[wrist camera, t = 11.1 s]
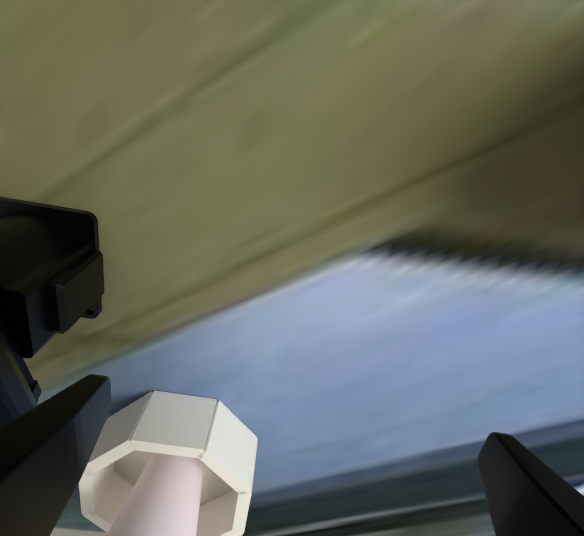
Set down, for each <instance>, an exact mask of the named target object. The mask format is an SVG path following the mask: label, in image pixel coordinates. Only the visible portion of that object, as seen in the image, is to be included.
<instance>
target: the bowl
mask: <svg viewBox="0 0 584 536" xmlns="http://www.w3.org/2000/svg"><path fill="white" fill-rule="evenodd" d="M257 442H258V439H257V437H256V436H255V435H254V434H253V433H252V432H251V431H250V430H249V429H248V428H247V427H246V426H245V425H244V424H243V423H242V422H241V421H240V420H239V419H238V418H237V417H236V416H235V415H234V414H233V413H232V412H231V411H230V410H229V409H228V408H227V407H226V406H225V405H224V404H223V403H222V402H221V401H220V400H219V401H217V399H212V398H205V397H198V396H191V395H183V394H176V393H169V392H162V391H155V390H154V392H153V391H151V392H149V393H148V394H146V395H144V396H143V397H141V398H139V399H138V400H136V401H134V402H133V403H131V404H129V405H128V406H126V407H125V408H123V409H121V410H120V411H118V412H116V413H115V414H113V415H111V416H110V417H108V419H107V421H106V422H105V424H104V426H103V429H102V431H101V433H100V436H99V438H98V440H97V443H96V445H95V447H94V450H93V452H92V454H91V457H90V459H89V461H88V464H87V466H86V468H85V471H84V473H83V475H82V477H81V480H80V482H79V491H80V502H81V512H82V514H83V516H84V517H86V518H87V519H88V520H90V521H91V522H93V523H94V524H96V525H97V526H98V527H100V528H101V529H103V530H104V531H106V532H107V533H108V532H109V530H110V528H111V526H112V525H113V523H114V521H115V519H116V517H117V516H118V514H119V512H120V510H121V509H122V507H123V505H124V503H125V501H126V500H127V498H128V496H129V494H130V493H131V491H132V489H133V487H134V485H135V484H136V482H137V480H138V478H139V477H140V475H141V473H142V471H143V469H144V468H145V466H146V464H147V462H148V461H149V459H150V457H151V455H152V453H160V454H168V455H175V456H183V457H191V458H198V459H200V460H201V461H202V462H203V463H204V471H203V480H202V489H201V497H200V506H199V515H198V524H197V533H196V536H241V535H243V534H244V530H245V525H246V519H247V514H248V509H249V504H250V498H251V493H252V485H253V476H254V468H255V459H256V451H257Z"/></svg>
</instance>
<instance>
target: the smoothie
mask: <svg viewBox="0 0 584 536" xmlns="http://www.w3.org/2000/svg"><path fill="white" fill-rule="evenodd" d="M203 471H204V463H203V462H202V461H201V460H200V459H198V458H191V457H183V456H175V455H168V454H160V453H152V455H151V457H150V459H149V461H148V462H147V464H146V466H145V468H144V469H143V471H142V473H141V475H140V477H139V478H138V480H137V482H136V484H135V485H134V487H133V489H132V491H131V493H130V494H129V496H128V498H127V500H126V501H125V503H124V505H123V507H122V509H121V510H120V512H119V514H118V516H117V517H116V519H115V521H114V523H113V525H112V526H111V528H110V530H109V532H108V533H107V535H106V536H196V533H197V524H198V515H199V506H200V497H201V489H202V480H203Z"/></svg>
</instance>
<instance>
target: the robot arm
mask: <svg viewBox="0 0 584 536" xmlns="http://www.w3.org/2000/svg"><path fill="white" fill-rule="evenodd" d="M84 218H86V219H87V220H88V221H89V223H90V224H89V225H88V224H86V223H85V222H84V220H83V219H84ZM103 293H104V274H103V255H102V253H101V252H100V251H99V236H98V220H97V218H96V216H95V215H94V214H93V213H91V212H88V211H83V210H77V209H71V208H65V207H58V206H52V205H46V204H40V203H34V202H28V201H22V200H16V199H10V198H4V197H0V536H50V534H51V533H52V530H53V529H54V527H55V525H56V524H57V522H58V520H59V518H60V516H61V515H62V513H63V511H64V509H65V507H66V506H67V504H68V502H69V500H70V498H71V497H72V495H73V493H74V491H75V489H76V487H77V485H78V483H79V482H80V480H81V477H82V475H83V473H84V471H85V468H86V466H87V464H88V461H89V459H90V457H91V454H92V452H93V450H94V447H95V445H96V443H97V440H98V438H99V436H100V433H101V431H102V429H103V426H104V424H105V422H106V420H107V417H108V415H109V412H110V408H111V383H110V379H109V377H107V376H102V375H95V374H90V375H88V376H86V377H84V378H83V379H81V380H79V381H78V382H76V383H74V384H73V385H71V386H69V387H68V388H66V389H64V390H63V391H61V392H59V393H58V394H56V395H54V396H53V397H51V398H49V399H48V400H46V401H44V402H43V403H41V404H39V405H38V403H37V402H38V399H39V396H40V394H41V388H40V386H39V384H38V382H37V381H36V380H33V378H32V376H31V374H30V372H29V370H28V368H27V366H26V364H25V362H24V360H23V358H31V357H33V356H34V355H35V354H36V353H37V352H38V351H39V350H40V349H41V348H42V347H43V346H44V345H45V344H46V343H47V342H48V341H49V340H50V339H51V338H52V337H53V336H54V335H55V334H56V333H60V334H63V333H65V332H66V331H67V330H69V329H70V328H71V327H72V326H73V325H74V323H75V322H76V321H77V320H78V319H79V318H80V317H83V318H90V319H94V318H96V317H97V316H98V315H99V314H100V313H101V311H102V302H101V295H102V294H103ZM89 308H92V309H93V310H94V312H93V311H91V310H90V309H89ZM477 463H478V469H479V473H480V476H481V480H482V484H483V488H484V492H485V496H486V500H487V504H488V508H489V512H490V516H491V520H492V523H493V527H494V530H495V534H496V536H584V496H583V495H582V494H580V493H579V492H578V491H577V490H576V489H575V488H573V487H572V486H571V485H570V484H569V483H567V482H566V481H565V480H564V479H563V478H561V477H560V476H559V475H558V474H557V473H555V472H554V471H553V470H552V469H551V468H550V467H548V466H547V465H546V464H545V463H544V462H542V461H541V460H540V459H539V458H538V457H536V456H535V455H534V454H533V453H532V452H531V451H529V450H528V449H527V448H526V447H525V446H523V445H522V444H521V443H520V442H519V441H517V440H516V439H515V438H514V437H513V436H511V435H509V434H506V433H499V432H492V433H490V434H489V436H488V437H487V439H486V441H485V443H484V445H483V447H482V448H481V450H480V452H479V454H478V459H477Z"/></svg>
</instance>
